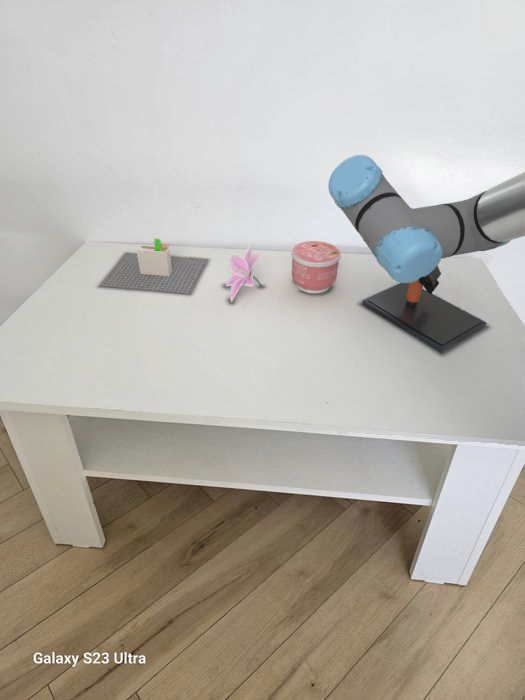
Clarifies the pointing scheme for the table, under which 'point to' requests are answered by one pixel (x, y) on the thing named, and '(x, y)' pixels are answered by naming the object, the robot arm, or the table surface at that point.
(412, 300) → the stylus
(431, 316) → the plate
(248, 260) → the lily
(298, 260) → the container
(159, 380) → the table surface
